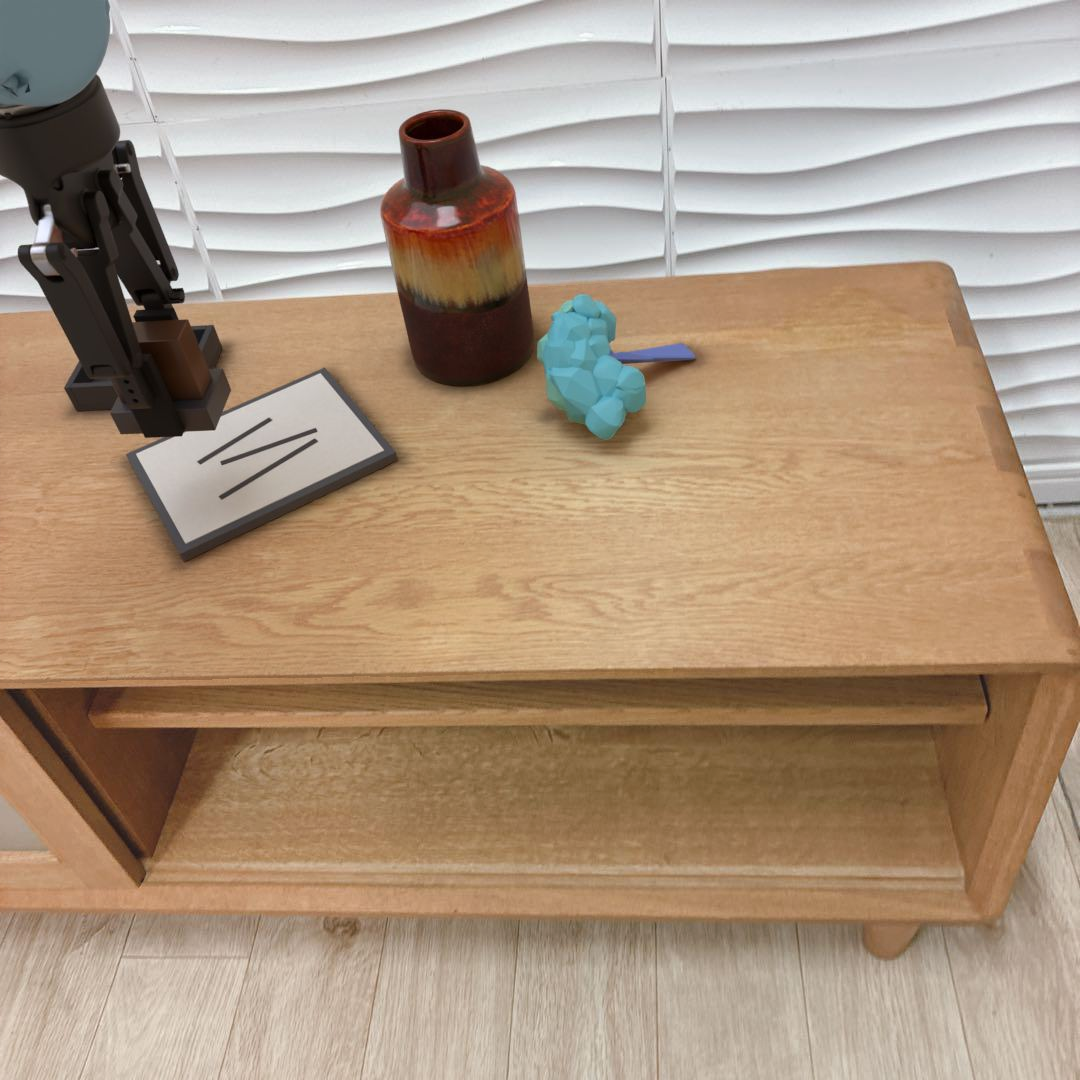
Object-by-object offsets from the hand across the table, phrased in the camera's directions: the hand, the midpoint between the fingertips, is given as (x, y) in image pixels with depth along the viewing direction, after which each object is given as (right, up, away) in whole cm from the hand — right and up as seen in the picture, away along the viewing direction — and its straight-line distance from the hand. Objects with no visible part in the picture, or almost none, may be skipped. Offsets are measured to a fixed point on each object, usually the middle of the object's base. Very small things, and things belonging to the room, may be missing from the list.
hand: (175, 408), depth 77 cm
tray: (-9, +5, +20) cm, 22 cm away
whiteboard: (+4, -3, +10) cm, 11 cm away
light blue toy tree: (+32, +2, +11) cm, 34 cm away
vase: (+20, +7, +18) cm, 28 cm away
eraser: (0, 0, 0) cm, 0 cm away
